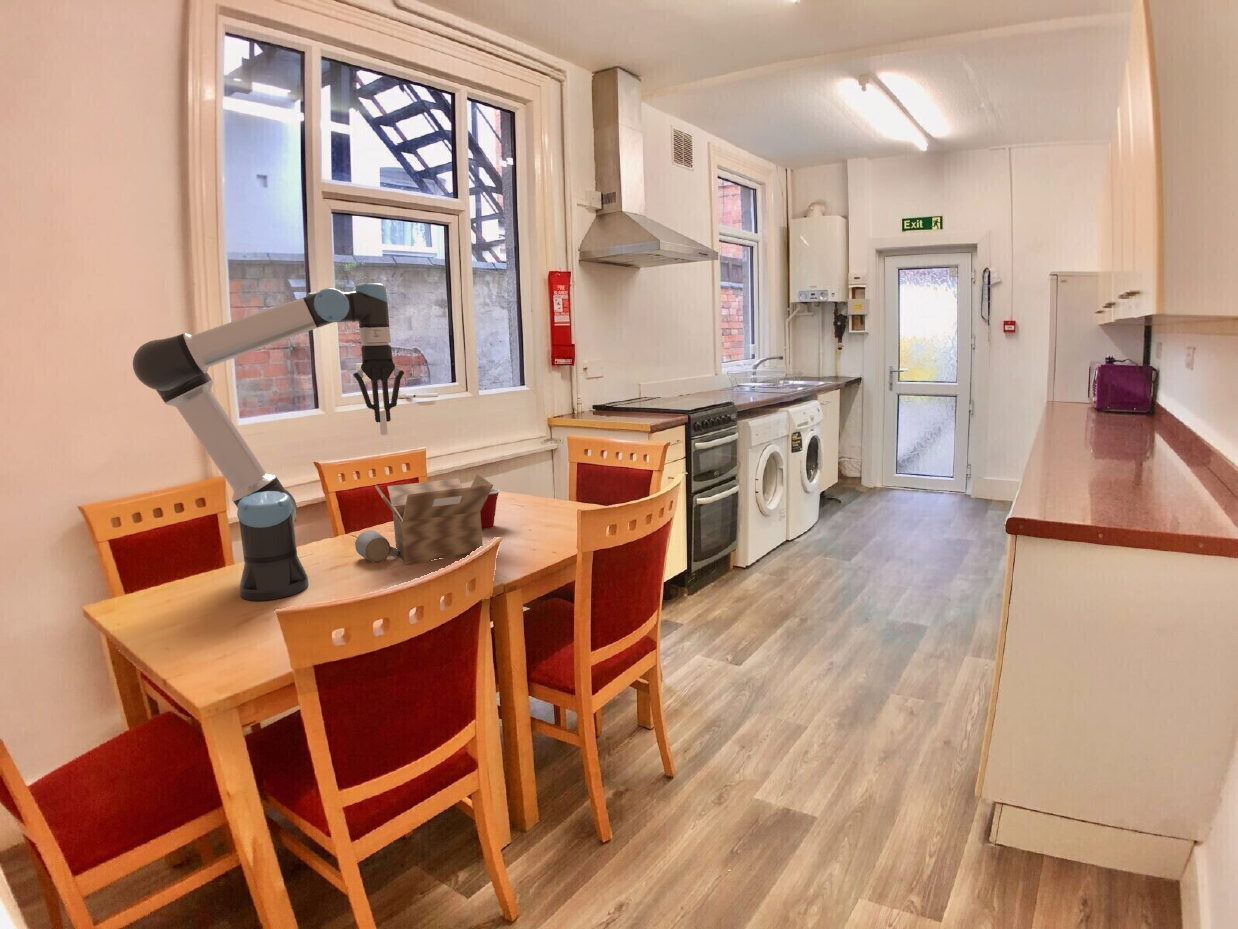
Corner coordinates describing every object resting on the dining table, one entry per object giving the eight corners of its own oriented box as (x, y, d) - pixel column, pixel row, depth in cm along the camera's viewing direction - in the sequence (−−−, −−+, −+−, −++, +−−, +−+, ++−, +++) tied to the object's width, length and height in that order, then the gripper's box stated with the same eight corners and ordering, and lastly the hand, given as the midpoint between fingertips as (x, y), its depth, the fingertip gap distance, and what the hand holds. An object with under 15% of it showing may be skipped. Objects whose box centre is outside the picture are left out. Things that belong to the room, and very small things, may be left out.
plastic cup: (509, 524, 233) (507, 487, 231) (485, 532, 224) (483, 494, 222) (483, 520, 239) (481, 484, 236) (460, 528, 230) (457, 491, 228)
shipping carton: (388, 567, 193) (382, 497, 190) (377, 543, 216) (371, 480, 213) (498, 551, 205) (493, 484, 201) (476, 529, 228) (472, 469, 225)
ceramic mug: (367, 566, 195) (364, 538, 194) (355, 559, 201) (353, 532, 200) (404, 558, 202) (403, 531, 200) (392, 551, 208) (391, 525, 207)
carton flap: (402, 519, 193) (402, 522, 192) (407, 494, 178) (408, 497, 178) (479, 509, 201) (479, 512, 200) (490, 484, 186) (490, 487, 186)
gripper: (350, 345, 185) (359, 438, 189) (403, 343, 190) (411, 433, 194) (348, 345, 192) (357, 434, 196) (399, 343, 197) (407, 430, 201)
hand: (384, 434), depth 195 cm, fingers closed
